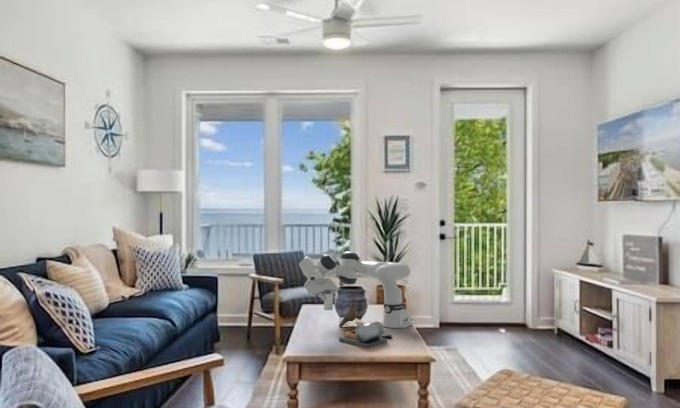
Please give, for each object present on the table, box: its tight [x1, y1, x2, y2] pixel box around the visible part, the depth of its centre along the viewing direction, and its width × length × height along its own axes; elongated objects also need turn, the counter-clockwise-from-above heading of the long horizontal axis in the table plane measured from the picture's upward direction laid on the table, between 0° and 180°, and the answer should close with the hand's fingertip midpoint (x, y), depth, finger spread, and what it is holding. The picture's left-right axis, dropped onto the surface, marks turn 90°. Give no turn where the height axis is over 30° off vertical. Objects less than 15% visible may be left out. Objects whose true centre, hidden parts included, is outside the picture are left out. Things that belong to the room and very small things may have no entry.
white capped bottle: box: [323, 290, 334, 311], centre depth 330 cm, size 5×5×11 cm
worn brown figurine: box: [338, 299, 357, 328], centre depth 364 cm, size 12×6×18 cm, turn 100°
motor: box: [338, 321, 388, 349], centre depth 327 cm, size 18×22×11 cm
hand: (329, 299), depth 330 cm, fingers closed on white capped bottle, 5 cm apart
